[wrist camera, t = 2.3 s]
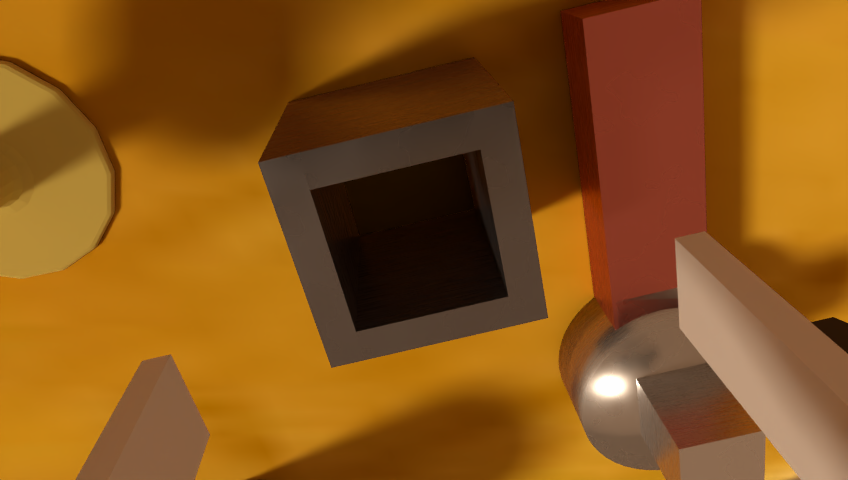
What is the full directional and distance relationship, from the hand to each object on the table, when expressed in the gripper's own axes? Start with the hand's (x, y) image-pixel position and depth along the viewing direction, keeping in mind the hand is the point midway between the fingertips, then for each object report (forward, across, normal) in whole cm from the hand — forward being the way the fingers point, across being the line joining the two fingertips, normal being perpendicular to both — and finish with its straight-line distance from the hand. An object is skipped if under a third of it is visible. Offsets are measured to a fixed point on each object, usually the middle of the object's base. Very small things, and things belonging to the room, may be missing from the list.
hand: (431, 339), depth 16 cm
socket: (+13, 0, 0) cm, 13 cm away
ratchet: (+13, +10, -6) cm, 18 cm away
